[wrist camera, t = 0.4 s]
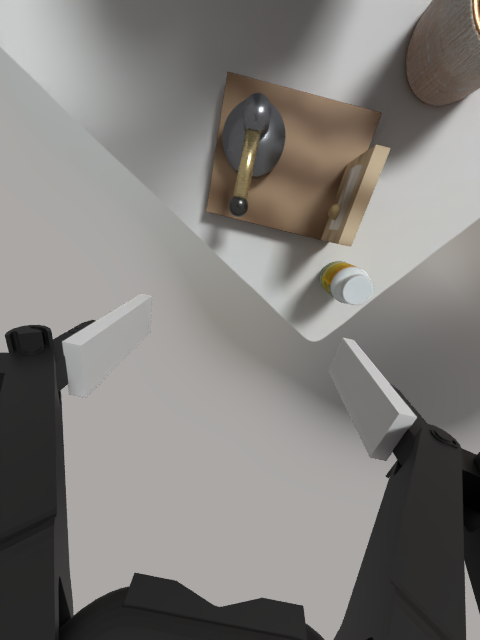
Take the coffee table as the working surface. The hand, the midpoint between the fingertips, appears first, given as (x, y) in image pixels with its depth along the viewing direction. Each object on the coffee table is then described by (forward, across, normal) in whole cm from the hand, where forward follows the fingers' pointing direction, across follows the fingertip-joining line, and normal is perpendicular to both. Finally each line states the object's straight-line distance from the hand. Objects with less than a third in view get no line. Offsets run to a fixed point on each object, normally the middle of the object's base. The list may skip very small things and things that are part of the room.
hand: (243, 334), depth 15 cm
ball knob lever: (+24, -3, +14) cm, 28 cm away
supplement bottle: (+26, +14, +2) cm, 29 cm away
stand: (+26, +2, +15) cm, 30 cm away
